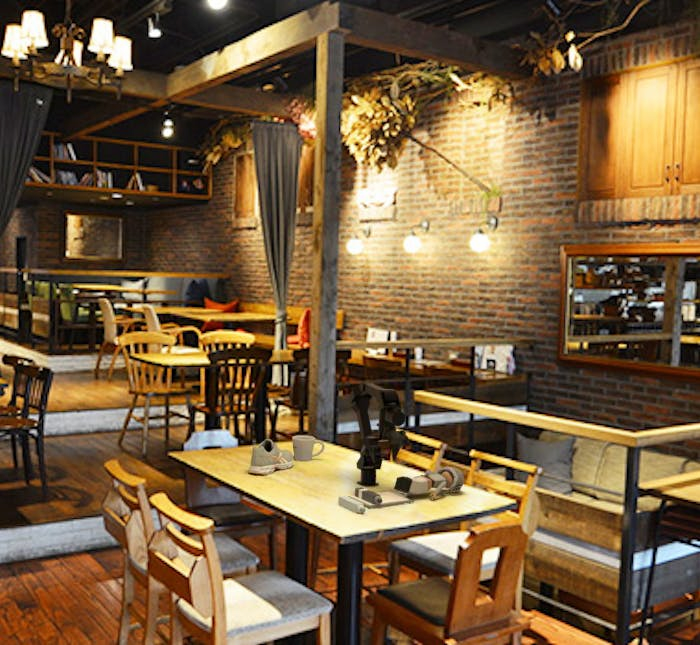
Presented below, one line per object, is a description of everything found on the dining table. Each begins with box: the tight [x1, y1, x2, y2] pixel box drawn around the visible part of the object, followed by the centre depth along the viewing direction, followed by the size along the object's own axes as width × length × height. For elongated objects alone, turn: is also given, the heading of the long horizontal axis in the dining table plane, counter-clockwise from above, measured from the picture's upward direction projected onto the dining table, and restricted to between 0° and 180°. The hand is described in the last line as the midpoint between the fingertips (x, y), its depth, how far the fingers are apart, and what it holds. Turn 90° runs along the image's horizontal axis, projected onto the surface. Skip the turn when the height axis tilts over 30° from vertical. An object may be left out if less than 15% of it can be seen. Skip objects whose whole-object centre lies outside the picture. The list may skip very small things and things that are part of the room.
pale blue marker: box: [337, 495, 366, 514], centre depth 289 cm, size 14×3×3 cm, turn 33°
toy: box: [393, 466, 465, 500], centre depth 313 cm, size 14×11×30 cm
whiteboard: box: [348, 490, 415, 510], centre depth 302 cm, size 20×15×2 cm
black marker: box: [354, 487, 382, 504], centre depth 297 cm, size 14×3×3 cm, turn 33°
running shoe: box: [248, 438, 294, 476], centre depth 345 cm, size 11×30×14 cm, turn 158°
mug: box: [291, 434, 325, 462], centre depth 366 cm, size 10×15×10 cm
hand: (384, 461), depth 314 cm, fingers open, 9 cm apart
